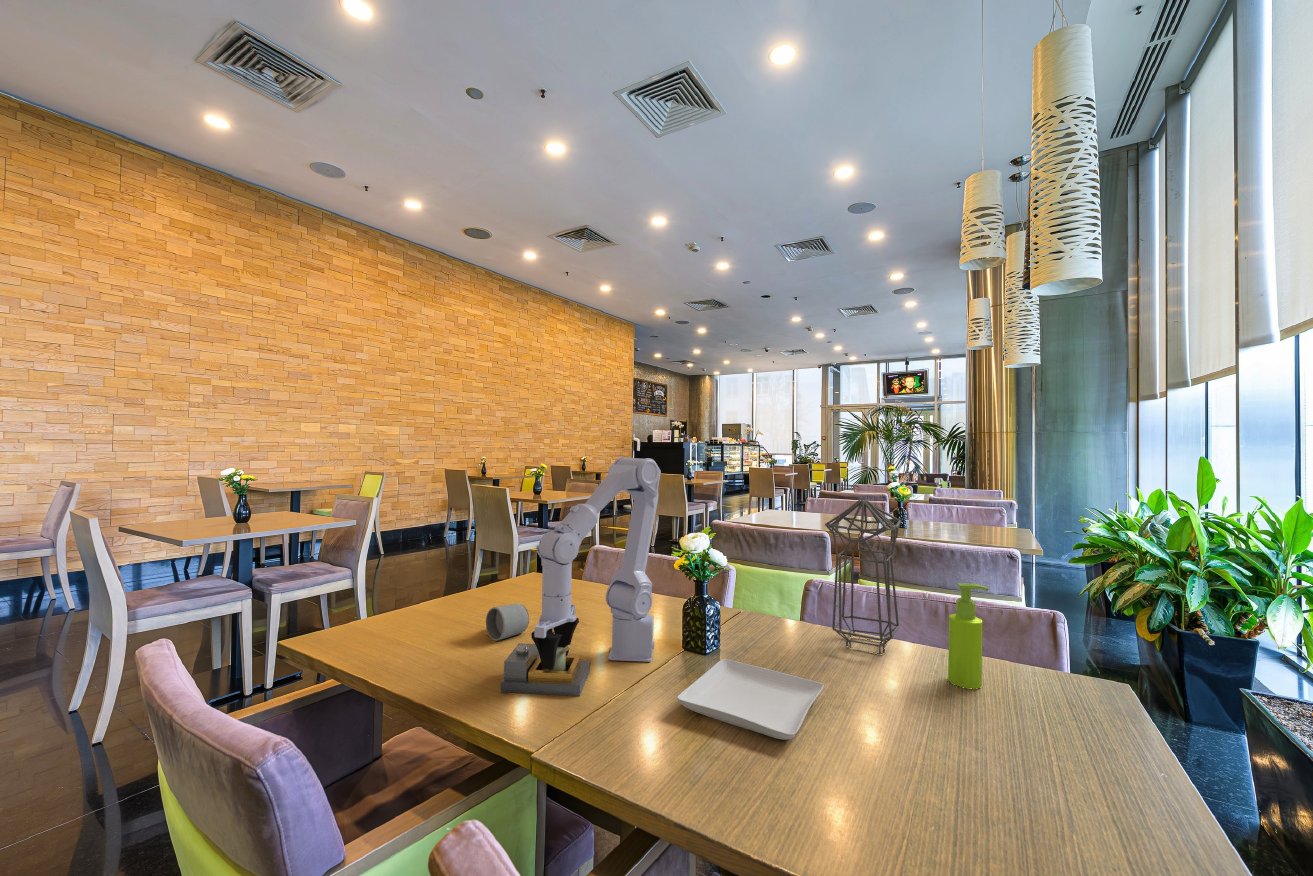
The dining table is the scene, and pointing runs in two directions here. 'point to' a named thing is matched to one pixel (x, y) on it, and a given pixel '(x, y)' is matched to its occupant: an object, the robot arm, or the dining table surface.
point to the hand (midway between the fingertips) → (555, 661)
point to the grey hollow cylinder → (506, 621)
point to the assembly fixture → (542, 674)
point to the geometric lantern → (894, 529)
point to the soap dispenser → (965, 641)
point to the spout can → (560, 659)
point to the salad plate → (752, 698)
